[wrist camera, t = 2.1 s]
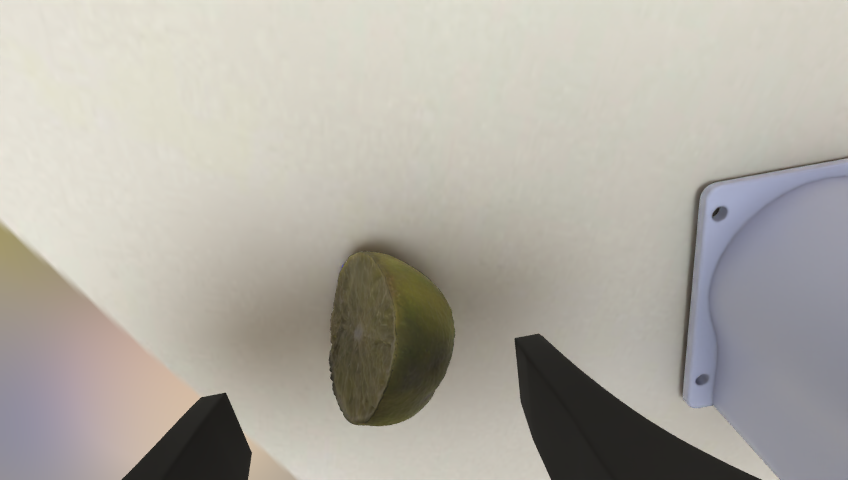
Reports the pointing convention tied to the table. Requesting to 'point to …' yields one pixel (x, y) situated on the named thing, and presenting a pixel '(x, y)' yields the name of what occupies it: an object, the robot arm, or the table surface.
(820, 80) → the table surface
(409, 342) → the lime
